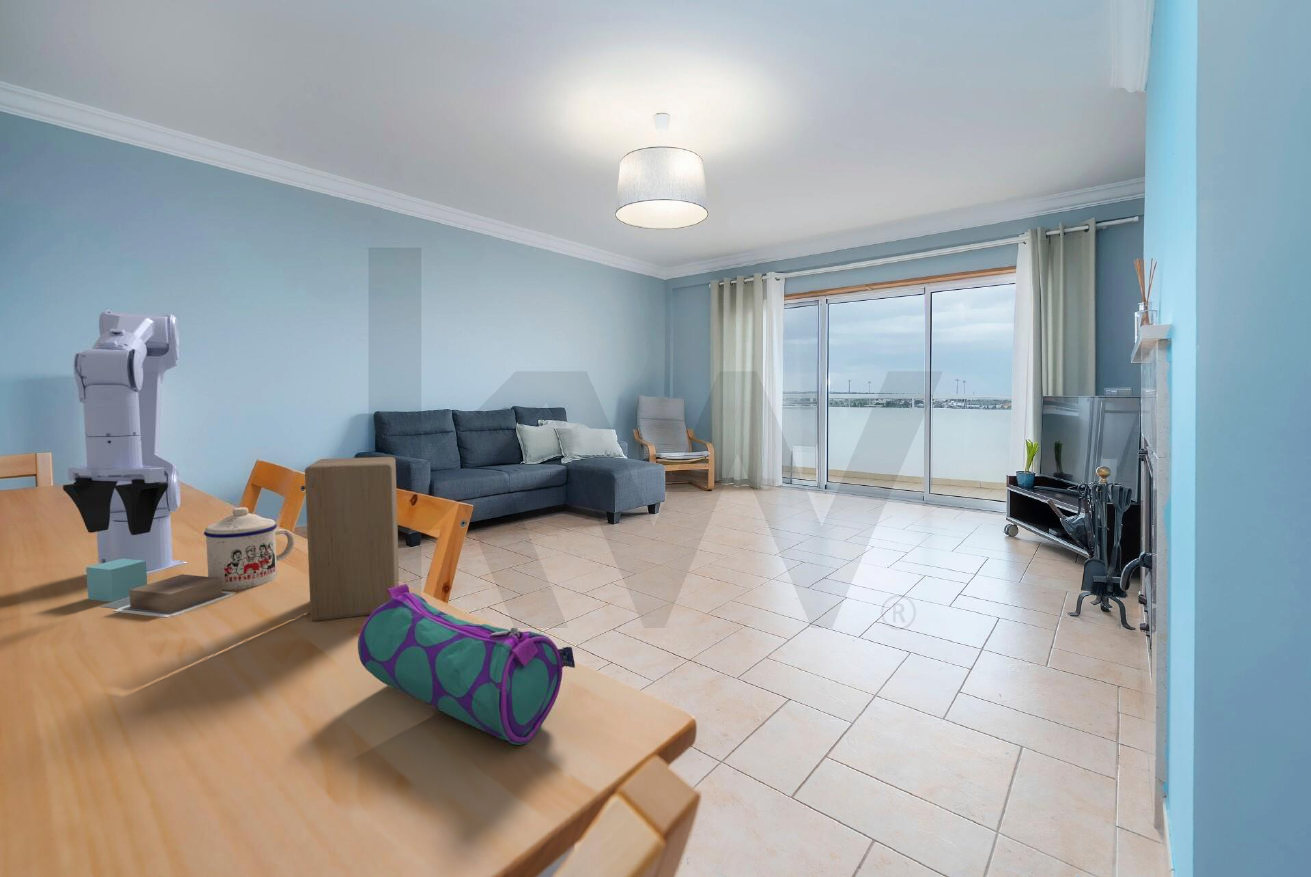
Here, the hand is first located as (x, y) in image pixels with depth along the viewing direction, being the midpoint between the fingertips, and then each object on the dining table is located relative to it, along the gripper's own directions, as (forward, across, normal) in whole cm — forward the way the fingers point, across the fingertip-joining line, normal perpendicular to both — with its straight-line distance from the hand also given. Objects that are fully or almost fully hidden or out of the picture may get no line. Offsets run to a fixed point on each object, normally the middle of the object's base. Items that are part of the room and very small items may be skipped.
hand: (119, 532), depth 83 cm
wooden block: (+10, +34, +6) cm, 36 cm away
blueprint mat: (+10, +8, 0) cm, 12 cm away
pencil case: (+11, +62, -15) cm, 64 cm away
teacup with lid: (+10, +11, +11) cm, 18 cm away
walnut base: (+9, +10, 0) cm, 13 cm away
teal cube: (+10, -1, 0) cm, 10 cm away
